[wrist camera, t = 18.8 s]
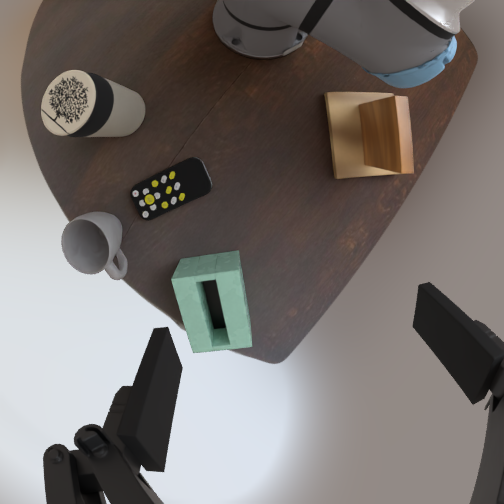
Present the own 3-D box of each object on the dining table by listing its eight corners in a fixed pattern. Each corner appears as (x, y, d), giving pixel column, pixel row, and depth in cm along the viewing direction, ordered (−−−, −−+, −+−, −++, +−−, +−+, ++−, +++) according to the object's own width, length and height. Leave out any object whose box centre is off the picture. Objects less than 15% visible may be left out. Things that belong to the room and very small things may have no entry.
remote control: (215, 189, 46) (214, 191, 44) (146, 221, 47) (142, 224, 45) (199, 153, 44) (198, 154, 42) (130, 188, 45) (126, 189, 43)
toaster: (199, 333, 55) (195, 360, 48) (180, 258, 50) (171, 279, 42) (251, 326, 55) (253, 353, 48) (238, 250, 50) (238, 269, 42)
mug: (79, 222, 46) (51, 239, 37) (111, 193, 45) (85, 205, 36) (118, 274, 50) (97, 300, 41) (152, 249, 49) (135, 273, 40)
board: (324, 93, 41) (326, 92, 40) (389, 94, 41) (393, 93, 39) (333, 177, 46) (336, 178, 44) (396, 172, 46) (400, 173, 44)
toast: (364, 165, 44) (401, 173, 33) (358, 104, 40) (394, 95, 29) (375, 164, 44) (414, 173, 33) (369, 104, 40) (407, 96, 29)
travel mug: (127, 80, 38) (72, 54, 22) (155, 112, 41) (110, 97, 24) (93, 115, 40) (29, 108, 23) (120, 146, 42) (61, 152, 25)
